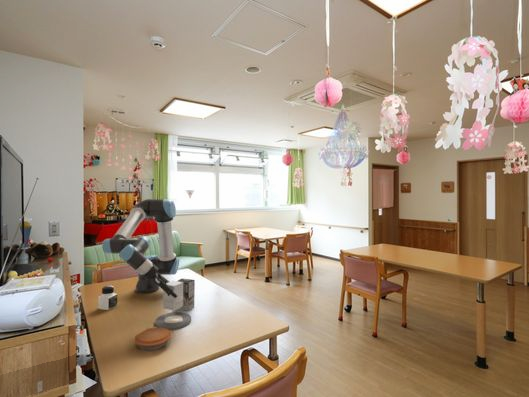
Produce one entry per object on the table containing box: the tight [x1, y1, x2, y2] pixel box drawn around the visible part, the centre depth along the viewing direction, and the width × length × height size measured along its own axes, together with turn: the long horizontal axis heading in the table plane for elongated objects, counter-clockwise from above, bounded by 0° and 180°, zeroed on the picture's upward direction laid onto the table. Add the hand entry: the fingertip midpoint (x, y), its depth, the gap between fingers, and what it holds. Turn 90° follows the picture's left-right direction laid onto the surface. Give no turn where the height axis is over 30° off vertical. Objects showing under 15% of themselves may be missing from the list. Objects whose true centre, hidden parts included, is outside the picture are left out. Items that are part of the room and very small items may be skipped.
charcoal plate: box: [154, 311, 192, 331], centre depth 149 cm, size 18×18×1 cm
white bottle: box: [97, 285, 118, 311], centre depth 165 cm, size 7×7×12 cm
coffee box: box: [177, 278, 196, 311], centre depth 167 cm, size 9×6×16 cm
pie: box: [134, 327, 173, 352], centre depth 127 cm, size 16×16×5 cm
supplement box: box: [162, 280, 183, 312], centre depth 148 cm, size 7×7×13 cm
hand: (179, 297), depth 149 cm, fingers closed on supplement box, 10 cm apart
